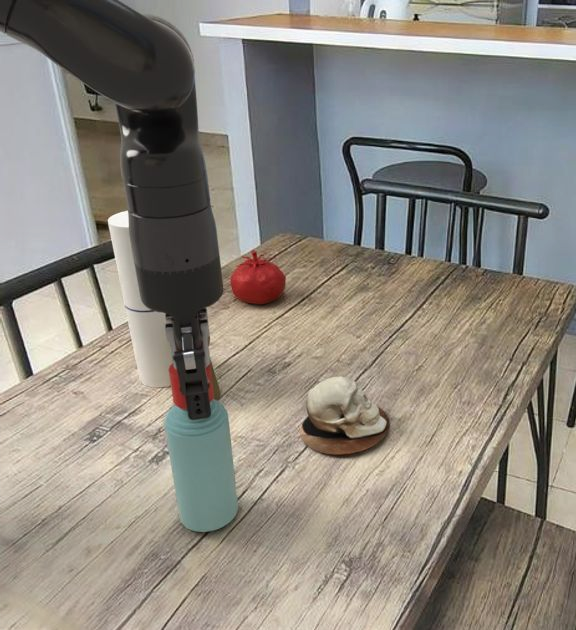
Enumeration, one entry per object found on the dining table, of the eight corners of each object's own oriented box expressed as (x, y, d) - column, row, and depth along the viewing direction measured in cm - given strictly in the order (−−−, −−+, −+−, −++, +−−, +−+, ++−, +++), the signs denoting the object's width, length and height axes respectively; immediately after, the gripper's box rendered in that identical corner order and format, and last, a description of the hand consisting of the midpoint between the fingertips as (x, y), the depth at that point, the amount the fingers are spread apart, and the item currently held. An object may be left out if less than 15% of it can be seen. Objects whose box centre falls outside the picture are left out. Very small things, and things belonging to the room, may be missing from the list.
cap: (171, 391, 71) (166, 360, 69) (210, 384, 73) (207, 353, 71) (175, 413, 68) (170, 381, 66) (216, 405, 69) (213, 373, 68)
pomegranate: (262, 315, 121) (258, 267, 116) (221, 301, 125) (215, 254, 121) (298, 294, 128) (295, 248, 124) (258, 282, 133) (253, 237, 128)
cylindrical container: (151, 393, 99) (120, 231, 87) (131, 372, 103) (99, 216, 92) (197, 375, 103) (173, 219, 91) (176, 357, 108) (151, 205, 96)
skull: (402, 400, 97) (390, 381, 87) (384, 472, 93) (369, 461, 84) (323, 384, 99) (302, 364, 90) (303, 454, 96) (280, 441, 86)
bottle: (178, 536, 74) (155, 395, 65) (180, 496, 79) (158, 360, 71) (239, 526, 76) (224, 387, 67) (236, 487, 81) (222, 354, 72)
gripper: (224, 279, 58) (242, 440, 66) (214, 222, 70) (231, 365, 78) (129, 288, 56) (160, 454, 64) (136, 228, 68) (161, 374, 76)
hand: (199, 404), depth 71 cm, fingers closed on cap, 3 cm apart
